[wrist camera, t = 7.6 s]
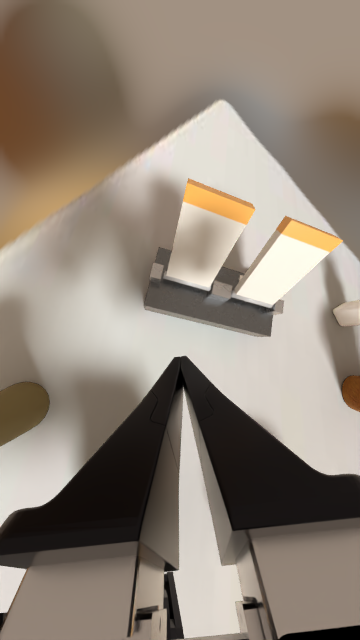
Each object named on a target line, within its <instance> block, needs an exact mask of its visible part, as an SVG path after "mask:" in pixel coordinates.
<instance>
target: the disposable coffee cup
mask: <svg viewBox="0 0 360 640" xmlns="http://www.w3.org/2000/svg"><path fill="white" fill-rule="evenodd" d="M342 395H343V398H344V401H345V402H346V404H347V405H348V406H349V407H350V408H352V409H354V410H356V411H359V412H360V376H354V375H352V376H349V377H347V378H346V379H345V381H344V383H343V386H342Z"/></svg>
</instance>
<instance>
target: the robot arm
mask: <svg viewBox="0 0 360 640" xmlns="http://www.w3.org/2000/svg"><path fill="white" fill-rule="evenodd" d="M183 387H184V392H185V396H186V401H187V405H188V410H189V414H190V419H191V423H192V427H193V432H194V436H195V441H196V445H197V450H198V454H199V458H200V463H201V467H202V471H203V476H204V481H205V486H206V490H207V495H208V500H209V505H210V510H211V515H212V520H213V525H214V530H215V535H216V540H217V545H218V550H219V555H220V560H221V565H222V566H225V565H234V564H236V566H237V571H238V576H239V581H240V586H241V591H242V596H243V601H237V602H235V604H236V610H237V616H238V621H239V627H240V633H236V634H226V635H216V636H206V637H196V638H186V639H184V634H183V627H182V622H181V616H180V611H179V605H178V599H177V594H176V588H175V582H174V577H173V572H167V571H176V570H179V469H180V448H181V428H182V408H183ZM0 565H1V566H8V567H15V568H23V569H27V570H26V572H25V575H24V577H23V579H22V581H21V583H20V586H19V588H18V590H17V592H16V595H15V597H14V599H13V601H12V603H11V606H10V608H9V610H8V612H7V613H0V640H360V476H359V475H356V474H340V475H326V474H323V473H320V472H318V471H316V470H315V469H313V468H312V467H310V466H309V465H308V464H306V463H305V462H304V461H303V460H302V459H300V458H299V457H298V456H297V455H296V454H294V453H293V452H292V451H291V450H290V449H288V448H287V447H286V446H285V445H284V444H282V443H281V442H280V441H279V440H277V439H276V438H275V437H274V436H273V435H271V434H270V433H269V432H268V431H267V430H265V429H264V428H263V427H262V426H261V425H259V424H258V423H257V422H256V421H255V420H253V419H252V418H251V417H250V416H248V415H247V414H246V413H245V412H244V411H242V410H241V409H240V408H239V407H238V406H236V405H235V404H234V403H233V402H232V401H230V400H229V399H228V398H227V397H226V396H225V395H223V394H222V393H221V392H220V391H219V390H218V389H217V388H216V387H215V386H214V385H213V384H212V383H211V382H210V381H209V380H208V379H207V377H206V376H205V375H204V374H203V373H202V372H201V371H200V370H199V369H198V368H197V367H196V366H195V365H194V364H193V363H192V362H191V361H190V359H189V358H188V357H187V356H181V357H174V359H173V360H172V361H171V363H170V364H169V365H168V367H167V368H166V369H165V371H164V372H163V374H162V375H161V376H160V378H159V379H158V380H157V382H156V383H155V385H154V386H153V387H152V389H151V390H150V391H149V392H148V394H147V395H146V396H145V398H144V399H143V400H142V402H141V403H140V404H139V405H138V406H137V407H136V409H135V410H134V411H133V412H132V413H131V414H130V415H129V416H128V417H127V419H126V420H125V421H124V422H123V423H122V424H121V425H120V426H119V427H118V429H117V430H116V431H115V432H114V433H113V434H112V435H111V436H110V437H109V438H108V440H107V441H106V442H105V443H104V444H103V445H102V446H101V447H100V448H99V450H98V451H97V452H96V453H95V454H94V455H93V456H92V457H91V458H90V459H89V461H88V462H87V463H86V464H85V465H84V466H83V467H82V468H81V469H80V471H79V472H78V473H77V474H76V475H75V476H74V477H73V478H72V479H71V480H70V482H69V483H68V484H67V485H66V486H65V487H64V488H63V489H62V490H61V492H60V493H59V494H58V495H56V496H55V497H54V498H53V499H52V500H51V501H49V502H48V503H46V504H44V505H42V506H39V507H33V508H25V509H20V510H17V511H15V512H13V513H12V514H10V515H9V517H8V518H7V519H6V520H5V522H4V523H3V524H2V526H1V527H0ZM164 572H167V574H164Z"/></svg>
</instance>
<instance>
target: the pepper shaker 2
mask: <svg viewBox="0 0 360 640" xmlns="http://www.w3.org/2000/svg"><path fill="white" fill-rule="evenodd" d="M333 313H334V315H335V317H336V319H337V321H338V323H339V325H340V326H354V325H360V300H357V301H351V302H346V303H343V304H341V305H340V306H338V307H336V308H335V309H333Z"/></svg>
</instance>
